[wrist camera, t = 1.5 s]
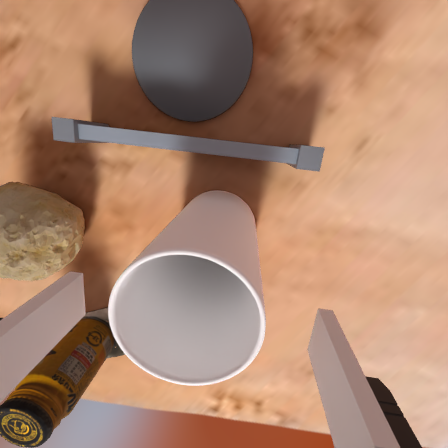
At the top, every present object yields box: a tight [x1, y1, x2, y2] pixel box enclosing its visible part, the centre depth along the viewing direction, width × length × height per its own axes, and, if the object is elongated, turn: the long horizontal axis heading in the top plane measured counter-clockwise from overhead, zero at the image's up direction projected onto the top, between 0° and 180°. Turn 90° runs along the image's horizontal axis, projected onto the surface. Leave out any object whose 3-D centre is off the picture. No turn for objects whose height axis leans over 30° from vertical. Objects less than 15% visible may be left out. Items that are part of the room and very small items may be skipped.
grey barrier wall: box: [52, 117, 324, 171], centre depth 23 cm, size 22×2×6 cm, turn 84°
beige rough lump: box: [0, 182, 85, 281], centre depth 25 cm, size 10×10×10 cm
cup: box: [108, 190, 266, 385], centre depth 21 cm, size 8×8×16 cm
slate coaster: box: [132, 0, 253, 122], centre depth 24 cm, size 11×11×1 cm
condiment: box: [0, 308, 125, 448], centre depth 29 cm, size 7×8×12 cm
